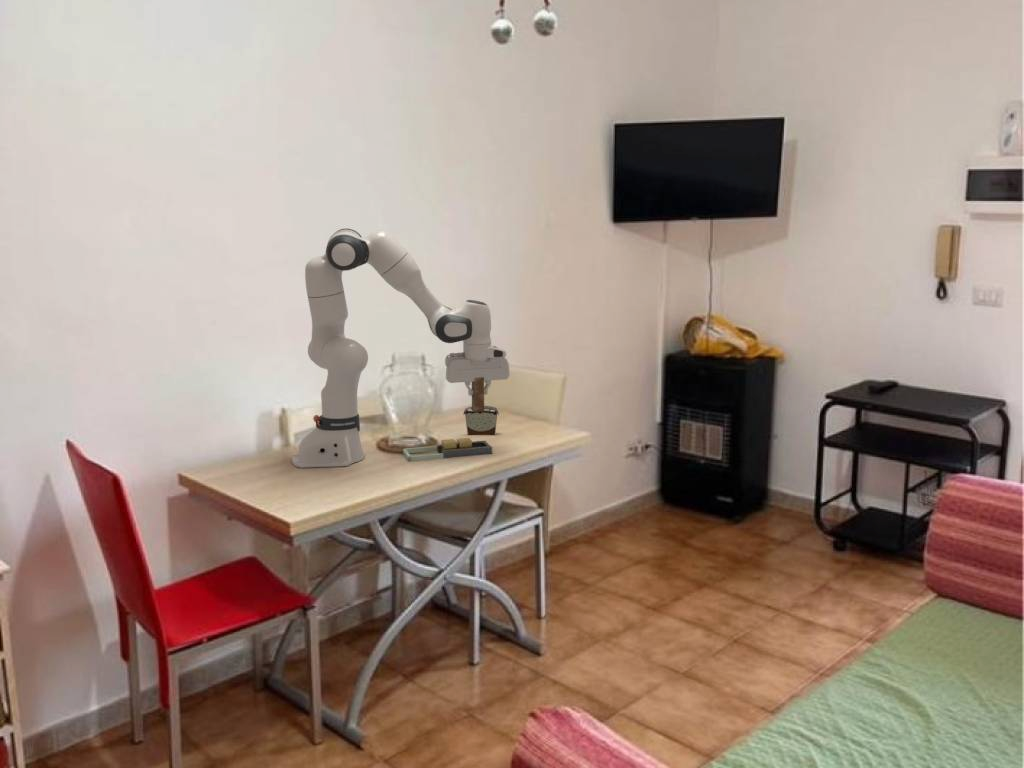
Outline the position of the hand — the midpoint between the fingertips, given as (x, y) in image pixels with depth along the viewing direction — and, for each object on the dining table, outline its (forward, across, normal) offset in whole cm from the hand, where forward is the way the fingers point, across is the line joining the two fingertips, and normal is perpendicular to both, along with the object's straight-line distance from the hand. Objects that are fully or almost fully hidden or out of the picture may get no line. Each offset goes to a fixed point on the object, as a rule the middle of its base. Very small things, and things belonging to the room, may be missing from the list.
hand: (477, 394), depth 295 cm
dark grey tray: (+19, -5, 0) cm, 20 cm away
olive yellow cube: (+18, -5, 0) cm, 19 cm away
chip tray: (+19, -18, 0) cm, 27 cm away
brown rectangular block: (+5, 0, 0) cm, 5 cm away
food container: (+20, +7, +22) cm, 30 cm away
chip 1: (+18, -10, 0) cm, 21 cm away
